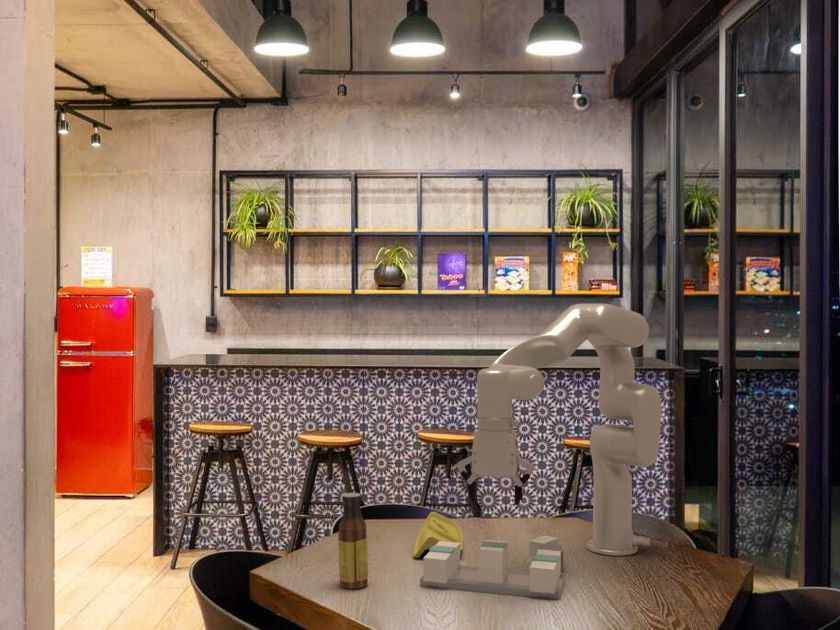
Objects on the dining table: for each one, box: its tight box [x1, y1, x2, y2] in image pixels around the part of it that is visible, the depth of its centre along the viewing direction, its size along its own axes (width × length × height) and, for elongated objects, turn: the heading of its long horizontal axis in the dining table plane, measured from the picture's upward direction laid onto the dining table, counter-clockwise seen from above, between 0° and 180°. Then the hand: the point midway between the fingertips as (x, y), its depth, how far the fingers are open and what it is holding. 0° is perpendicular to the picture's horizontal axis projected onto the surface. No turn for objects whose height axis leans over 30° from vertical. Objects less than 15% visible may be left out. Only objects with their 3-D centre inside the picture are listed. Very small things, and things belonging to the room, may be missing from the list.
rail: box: [419, 565, 566, 601], centre depth 183 cm, size 30×12×2 cm, turn 75°
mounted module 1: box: [422, 541, 461, 583], centre depth 186 cm, size 5×14×5 cm, turn 165°
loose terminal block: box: [528, 535, 559, 558], centre depth 206 cm, size 4×7×4 cm, turn 140°
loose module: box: [478, 539, 509, 584], centre depth 183 cm, size 5×8×7 cm, turn 165°
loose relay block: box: [540, 544, 564, 574], centre depth 194 cm, size 5×6×5 cm
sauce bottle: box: [338, 492, 369, 590], centre depth 181 cm, size 7×6×20 cm
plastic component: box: [412, 511, 464, 559], centre depth 210 cm, size 20×7×10 cm
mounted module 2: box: [529, 549, 562, 594], centre depth 180 cm, size 5×14×5 cm, turn 165°
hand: (495, 502), depth 183 cm, fingers open, 9 cm apart
